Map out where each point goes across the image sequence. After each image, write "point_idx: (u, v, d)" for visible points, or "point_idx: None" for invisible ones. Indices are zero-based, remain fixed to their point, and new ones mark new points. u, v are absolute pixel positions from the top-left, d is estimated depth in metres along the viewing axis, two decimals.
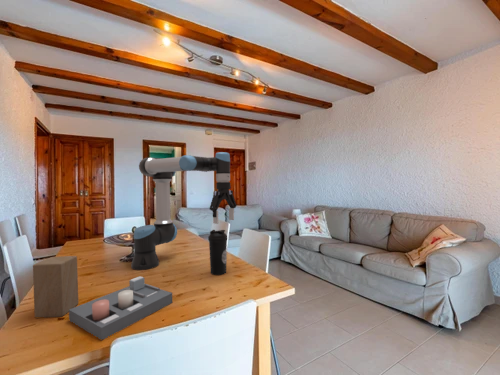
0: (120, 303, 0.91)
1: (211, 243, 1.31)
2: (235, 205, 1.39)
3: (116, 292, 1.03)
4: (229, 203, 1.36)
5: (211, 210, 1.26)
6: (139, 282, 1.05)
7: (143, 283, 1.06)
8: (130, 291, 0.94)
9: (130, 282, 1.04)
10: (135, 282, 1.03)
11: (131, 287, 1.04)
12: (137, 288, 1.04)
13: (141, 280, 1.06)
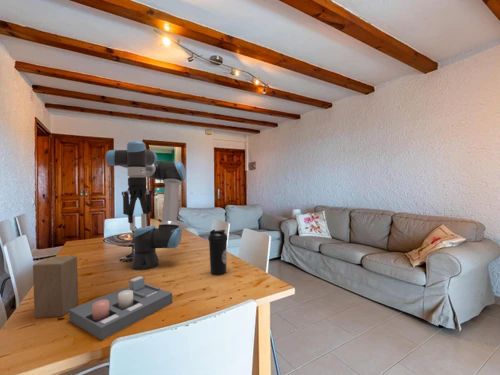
0: (120, 303, 0.91)
1: (211, 243, 1.31)
2: (149, 210, 1.14)
3: (116, 292, 1.03)
4: (142, 206, 1.12)
5: None
6: (139, 282, 1.05)
7: (143, 283, 1.06)
8: (130, 291, 0.94)
9: (130, 282, 1.04)
10: (135, 282, 1.03)
11: (131, 287, 1.04)
12: (137, 288, 1.04)
13: (141, 280, 1.06)
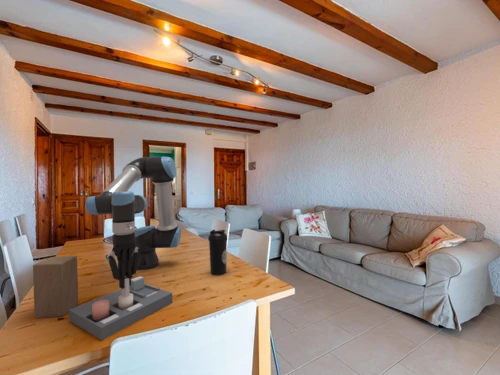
0: (120, 306, 0.91)
1: (211, 243, 1.31)
2: (133, 272, 0.94)
3: (116, 292, 1.03)
4: (126, 267, 0.93)
5: None
6: (139, 282, 1.05)
7: (143, 283, 1.06)
8: (130, 294, 0.94)
9: None
10: (135, 282, 1.03)
11: (131, 287, 1.04)
12: (137, 288, 1.04)
13: (141, 280, 1.06)
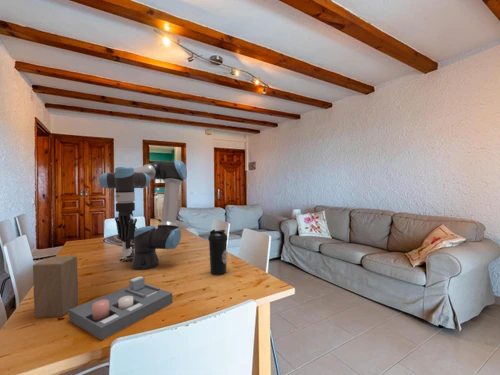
0: (120, 309, 0.91)
1: (211, 243, 1.31)
2: (127, 238, 1.06)
3: (116, 292, 1.03)
4: None
5: None
6: (139, 282, 1.05)
7: (143, 283, 1.06)
8: (130, 297, 0.94)
9: (130, 282, 1.04)
10: (135, 282, 1.03)
11: (131, 287, 1.04)
12: (137, 288, 1.04)
13: (141, 280, 1.06)
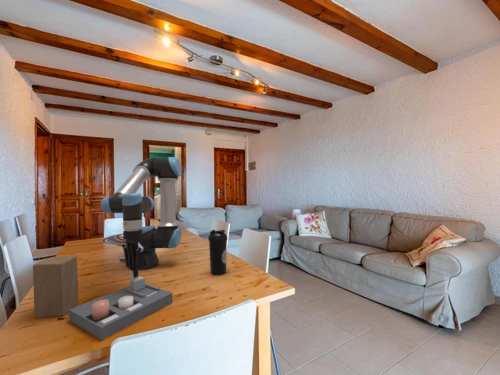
0: (120, 309, 0.91)
1: (211, 243, 1.31)
2: (135, 267, 1.04)
3: (116, 292, 1.03)
4: None
5: None
6: (139, 283, 1.04)
7: (144, 283, 1.06)
8: (130, 297, 0.94)
9: (131, 282, 1.04)
10: (136, 282, 1.03)
11: (132, 287, 1.03)
12: (138, 288, 1.04)
13: (142, 280, 1.05)
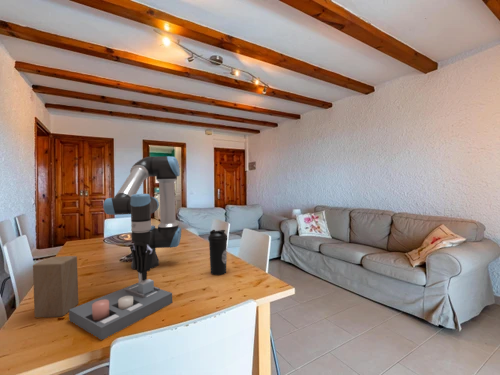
0: (120, 309, 0.91)
1: (211, 243, 1.31)
2: (144, 270, 1.01)
3: (116, 292, 1.03)
4: None
5: None
6: (148, 286, 1.01)
7: (152, 286, 1.03)
8: (130, 297, 0.94)
9: (139, 285, 1.01)
10: (144, 285, 1.00)
11: (140, 290, 1.00)
12: (146, 291, 1.01)
13: (150, 283, 1.02)
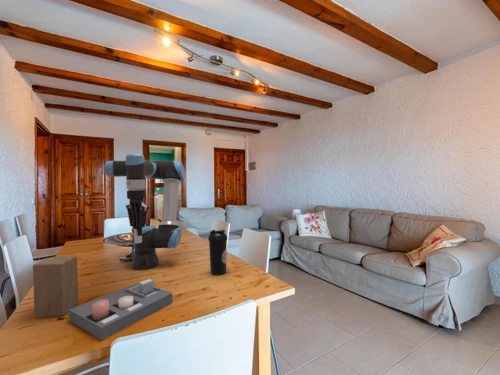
0: (120, 309, 0.91)
1: (211, 243, 1.31)
2: (139, 225, 1.07)
3: (116, 292, 1.03)
4: None
5: None
6: (148, 286, 1.01)
7: (152, 286, 1.03)
8: (130, 297, 0.94)
9: (139, 285, 1.01)
10: (144, 285, 1.00)
11: (140, 290, 1.00)
12: (146, 291, 1.01)
13: (150, 283, 1.02)
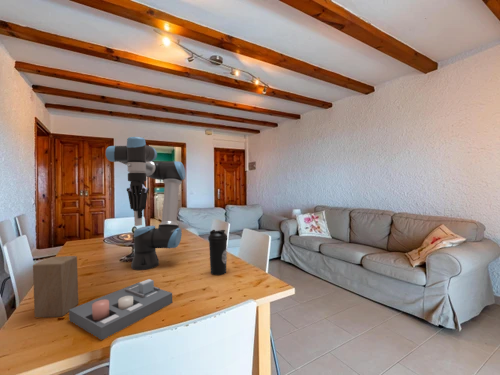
0: (120, 309, 0.91)
1: (211, 243, 1.31)
2: (139, 207, 1.08)
3: (116, 292, 1.03)
4: None
5: None
6: (148, 286, 1.01)
7: (152, 286, 1.03)
8: (130, 297, 0.94)
9: (139, 285, 1.01)
10: (144, 285, 1.00)
11: (140, 290, 1.00)
12: (146, 291, 1.01)
13: (150, 283, 1.02)
